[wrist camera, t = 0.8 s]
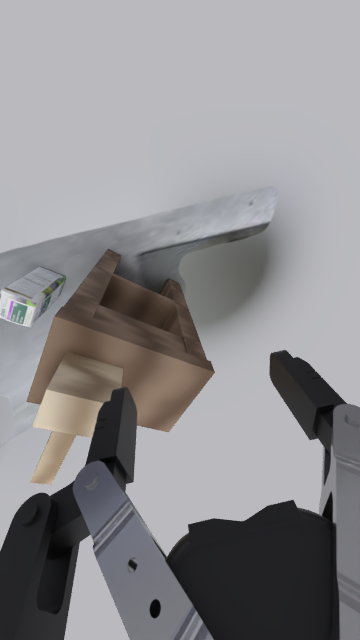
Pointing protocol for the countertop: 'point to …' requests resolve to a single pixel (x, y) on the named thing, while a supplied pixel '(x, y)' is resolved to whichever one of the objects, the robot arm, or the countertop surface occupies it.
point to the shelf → (130, 342)
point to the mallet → (72, 408)
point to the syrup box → (30, 296)
